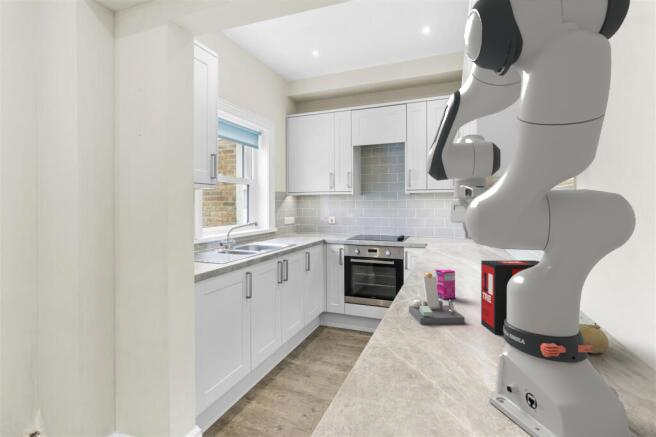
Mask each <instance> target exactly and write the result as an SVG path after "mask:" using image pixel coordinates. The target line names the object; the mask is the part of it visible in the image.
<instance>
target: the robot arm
mask: <svg viewBox="0 0 656 437" xmlns="http://www.w3.org/2000/svg"><path fill="white" fill-rule="evenodd" d="M630 5H631V0H477V1H476V2H475V3H474V5H473V6H472V8H471V10H470V11H469V13H468V14H467V19H466V22H465V29H464V46H465V49H466V54H467V57H468V59H469V61H471V62H472V65H471V71H470V74H469V76H468V78H467V79H466V80H465V82H464V83H463V85H462V86H461V87H460V88H459V89H457V90H456V91H454V92H453V93H451V95H450V97H449V99H448V101H447V104H446V106H445V108H444V111H443V113H442V117H441V119H440V122H439V125H438V128H437V130H436V134H435V137H434V138H433V142H432V144H431V146H430V148H429V149H428V150H429V151H428V152H427V155H426V161H425V166H426V172H427V174H428V175H429V176H430V177H431V178H433V179H434V180H436V181H437V182H438V181H448V180H454V181H453V200H451V204H450V222H451V223H454V224H455V223H456V224H458V223H459V224H462V229H463V232H464V238H465V239H467V240H472V241H473V242H474V243H475V244H477V245H479V246H480V245H481V246H484V247H485V246H486V247H490V248H496V249H500V250H516V251H517V250H519V251H523V250H524V251H543V256H542V258H541V259H540V262H539V263H538V264H537V265H535V266H533V267H531V268H528V269H525V270H523V271H520V272H518V273H516V274H515V275H514V276H512V277H511V279H510V280H509V282H508V284H507V319H505V321H504V327H503V331H504V335H503V339H504V341H505V344H504V346H503V349H502V350H501V352H500V354H499V355H498V358H497V359H498V360H497V365H496V366H497V367H496V368H497V369H496V379H495V387H494V388H495V389H494V390H493V391H492V392H491V393H489V397H488V401H489V403H491V404H492V406H495V408H496V409H498V410H499V411H501V412H502V413H503V414H504V415H506V416H507V417H508V418H510V419H511V420H512V421H513V422H515V424H517V425H518V426H519V427H520V428H521V429H523V430H524V431H525V432H527V433H528V434H529V435H531V436H532V437H638V436H637V435H636V434H635V433H634V432H633V431H632V430H631V429H630V428H629V419H628V415H627V414H628V413H627V410H626V408H625V405H624V403H623V402H622V401H621V400H620V397H619V393H618V392H617V389H615V388H614V387H613V386H610V385H609V384H608V383H607V382H606V381H605V379H604V378H603V377H602V375H601V374H600V373H599V372H598V370H597V369H596V368H595V366H594V365H593V364H592V363H591V361H590V360H589V352H593V351H591V350H587V349H588V348H591V347H593V346H592V345H585V342H584V339H583V336H582V333H581V331H580V330H579V324H580V309H581V301H582V300H581V299H582V291H583V287H584V284H585V282H586V280H587V278H588V276H589V274H590V273H591V271H592V270H593V269H594V267H595V266H597V264H598V263H599V262H600V261H601V260H602V259H604V257H606V256H607V255H609V254H610V253H611V252H614V251H615V250H617V249H619V248H621V247H622V246H624V245H625V244H626V243H627V242H628V241H630V238H631V237H632V236H633V234H634V231H635V228H636V222H637V220H636V219H637V218H636V214H635V211H634V208H633V206H632V205H631V204H630V201H628V199H626V198H625V197H624V196H623V195H622V194H620V193H616V192H609V191H603V190H594V189H588V188H587V189H586V188H584V189H553V188H555V187H556V186H558V185H559V184H562V183H564V182H566V181H568V180H570V179H573V178H575V177H577V176H579V175H580V174H582V173H583V172H585V171H586V170H588V168H589V167H590V165H592V163H594V160H595V159H596V154H597V151H598V146H599V142H600V137H601V133H602V128H603V124H604V120H605V116H606V111H607V107H608V103H609V95H610V90H611V88H610V87H611V77H612V47H611V43H610V40H609V39H611V38H612V37H614V35H615V34H616V33H617V32H618V31H619V30H620V28H621V26H622V25H623V23H624V21H625V19H626V16H627V15H628V12H629V10H630V9H629V8H630ZM516 102H518V107H517V113H516V122H515V124H516V125H515V133H514V138H513V145H512V149H511V150H512V151H511V155H510V158H509V162H508V164H507V166H506V169H505V170H504V171H503V173H502V174H501V176H499V179H498V180H497V181H496V182H495V183H493V185H492V186H489V185H488V182H487V178H489V177H493V175H494V174H496V173H497V172H498V171H499V170H500V169H501V158H502V156H501V148H500V147H499V146H498V145H497V144H495V143H494V142H493V141H486V140H485V137H484V136H482V135H480V134H468V135H464V136H462V137H460V138H458V139H457V141H456V142H454V141H455V138H456V136H457V134H458V131H459V130H460V129H461V128H462V127H463V126H465V125H467V124H469V123H471V122H473V121H475V120H478V119H481V118H484V117H486V116H490V115H494V114H497V113H500V112H502V111H505V110H506V109H508V108H509V107H511V106H513V105H514V104H515V103H516Z"/></svg>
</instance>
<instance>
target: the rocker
mask: <svg viewBox="0 0 656 437" xmlns="http://www.w3.org/2000/svg"><path fill="white" fill-rule="evenodd" d="M419 310H420V312H421V313H422V315H423V316H432V311H431V309H430V308H429V307H428V306H423V305H422V306H420V309H419Z"/></svg>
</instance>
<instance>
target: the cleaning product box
mask: <svg viewBox="0 0 656 437" xmlns="http://www.w3.org/2000/svg"><path fill="white" fill-rule="evenodd" d="M540 261H541V260H540ZM540 261H539V260H533V259H531V260H527V259H526V260H524V259H523V260H518V259H517V260H481V262H480V263H481V264H480V265H481V266H480V268H481V269H480V270H481V273H480V276H481V279H480V281H481V282H480V283H481V284H480V287H481V289H480V290H481V291H480V294H481V295H480V298H481V299H480V301H481V302H480V305H481V306H480V307H481V308H480V313H481V314H480V319H481V320H480V325H481V326H483V327H485V329H486V330H488V331H489V332H491V333H492V334H494V335H495V336H504V331H503V327H504V321H505V319H507V284H508V282H509V280H510V279H511V277H512V276H514V275H515V274H516V273H518V272H520V271H523V270H525V269H528V268H531V267H533V266H535V265H537V264H538V263H539V262H540Z"/></svg>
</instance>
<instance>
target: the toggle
mask: <svg viewBox="0 0 656 437" xmlns="http://www.w3.org/2000/svg"><path fill="white" fill-rule="evenodd" d="M448 306H449V313H456V311H457V310H456V309H455V306H454V302H453V299H448Z"/></svg>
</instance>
